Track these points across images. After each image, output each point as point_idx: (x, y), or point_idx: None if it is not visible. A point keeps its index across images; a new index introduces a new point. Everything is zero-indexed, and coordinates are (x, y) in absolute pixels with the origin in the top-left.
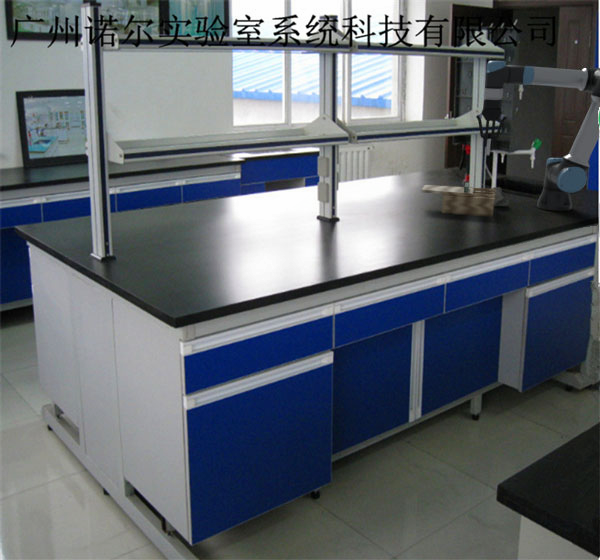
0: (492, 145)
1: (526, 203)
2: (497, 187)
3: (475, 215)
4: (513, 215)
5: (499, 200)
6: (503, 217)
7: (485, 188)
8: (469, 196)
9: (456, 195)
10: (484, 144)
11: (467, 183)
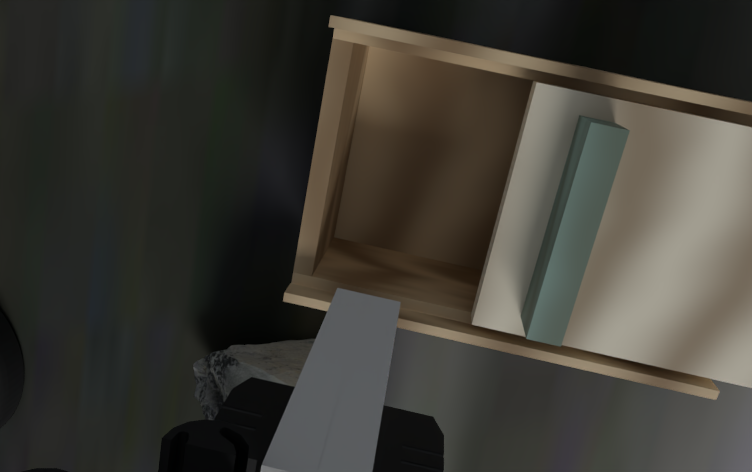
0: (243, 399)
1: (82, 450)
2: None
3: (481, 45)
4: (200, 94)
5: (256, 345)
6: (280, 15)
7: None
8: None
9: None
10: (434, 449)
11: (551, 304)
